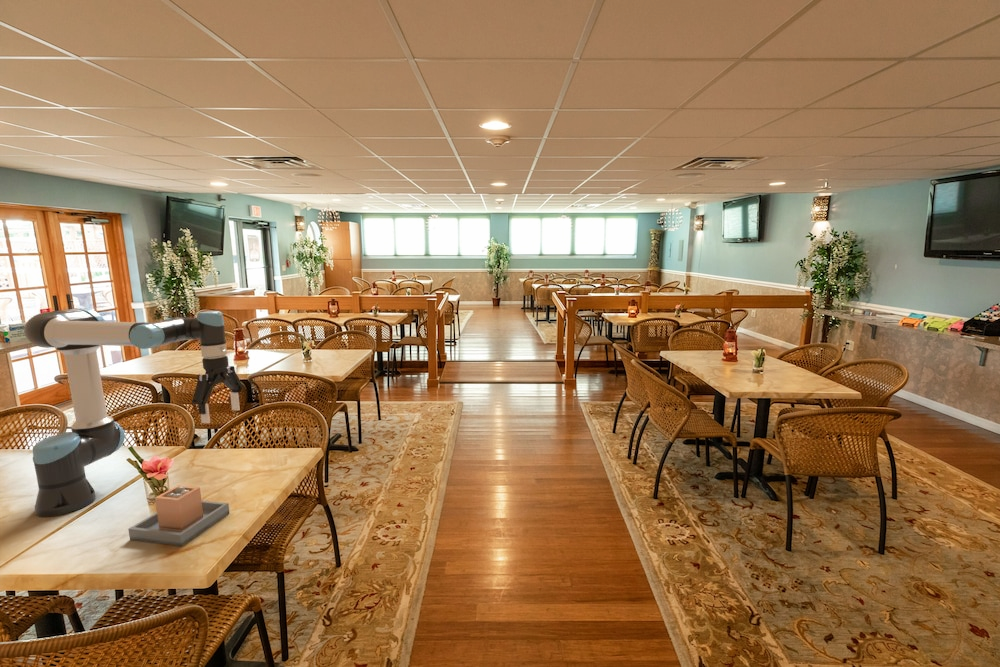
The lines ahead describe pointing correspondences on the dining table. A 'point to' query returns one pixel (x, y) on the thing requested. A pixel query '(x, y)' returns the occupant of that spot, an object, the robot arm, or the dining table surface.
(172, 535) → the slate dish
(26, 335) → the robot arm
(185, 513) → the peach box
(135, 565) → the dining table surface
